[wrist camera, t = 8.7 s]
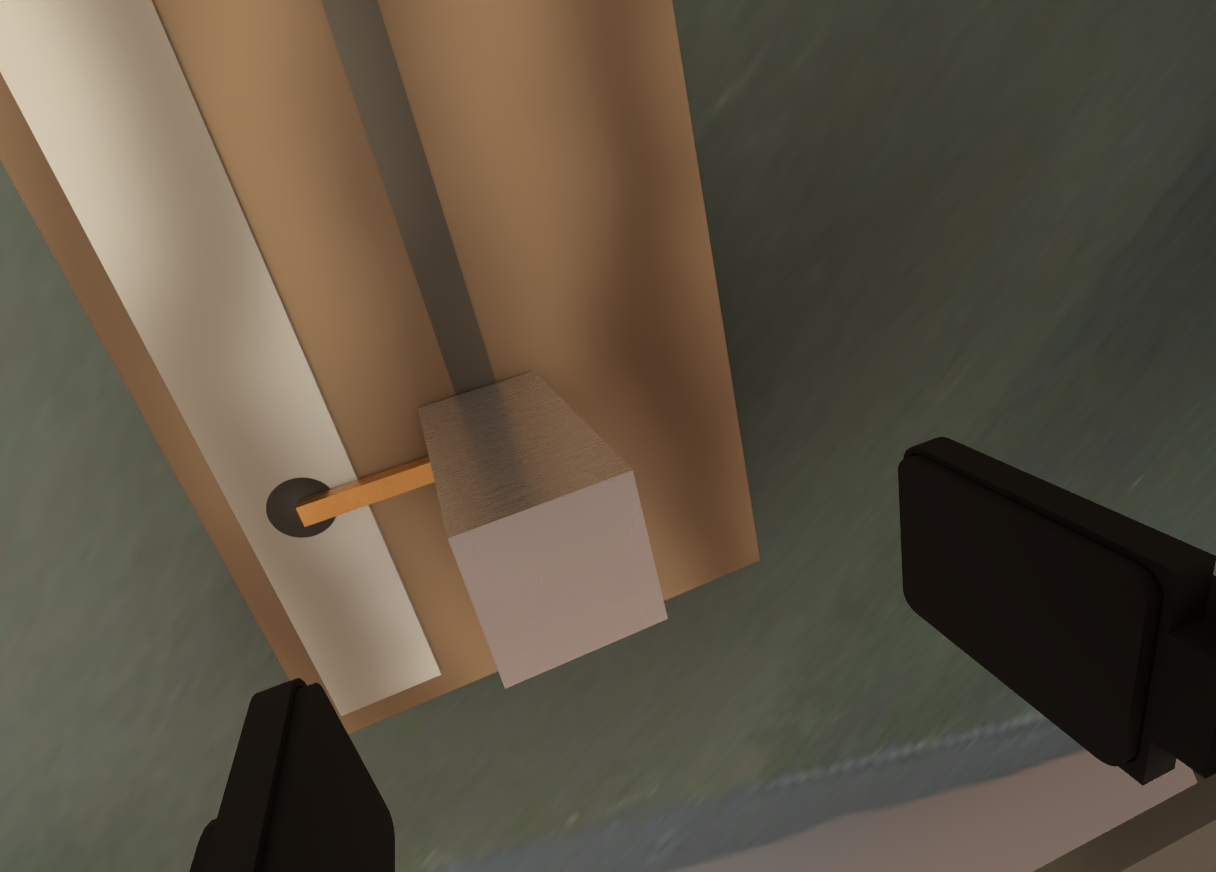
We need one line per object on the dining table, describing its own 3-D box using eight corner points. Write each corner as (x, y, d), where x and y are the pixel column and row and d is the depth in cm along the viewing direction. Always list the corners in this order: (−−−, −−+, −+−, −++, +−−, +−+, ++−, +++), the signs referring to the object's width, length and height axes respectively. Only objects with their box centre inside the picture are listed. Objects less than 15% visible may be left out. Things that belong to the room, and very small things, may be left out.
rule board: (579, -352, 16) (848, -1083, 7) (733, 536, 26) (922, 706, 17) (-207, -304, 12) (-1765, -1686, 3) (329, 701, 22) (299, 1026, 14)
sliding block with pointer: (533, 371, 19) (632, 470, 12) (562, 473, 20) (667, 618, 13) (276, 452, 17) (207, 626, 10) (326, 557, 18) (297, 778, 11)
